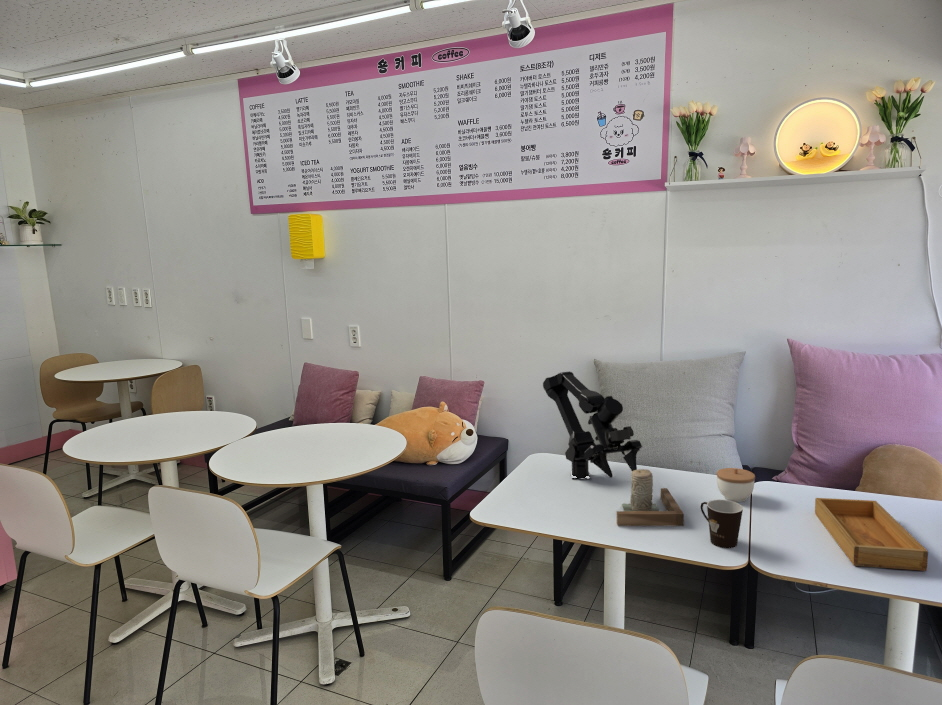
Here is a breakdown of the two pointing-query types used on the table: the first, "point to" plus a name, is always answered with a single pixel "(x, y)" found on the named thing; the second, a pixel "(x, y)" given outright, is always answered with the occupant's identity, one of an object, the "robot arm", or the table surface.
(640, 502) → the carving
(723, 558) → the table surface
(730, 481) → the lidded jar
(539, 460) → the table surface
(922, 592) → the table surface
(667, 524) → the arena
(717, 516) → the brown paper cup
